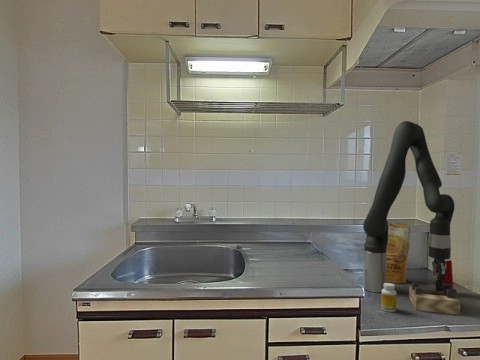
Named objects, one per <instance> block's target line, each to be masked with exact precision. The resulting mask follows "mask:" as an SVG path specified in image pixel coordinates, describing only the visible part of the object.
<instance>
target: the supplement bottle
mask: <svg viewBox="0 0 480 360" xmlns="http://www.w3.org/2000/svg"><path fill="white" fill-rule="evenodd" d="M383 287H384V289H382V292H380V293H381V300H380V301H381V303H380V308H381V309H382V311H384V312H389V313H394V312H396V311H397V296H398V295H397V294H398V293H397V291H396V289H395V288H396V285H395V283H390V282H386V283H384V286H383Z"/></svg>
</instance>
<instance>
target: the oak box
mask: <svg viewBox="0 0 480 360" xmlns="http://www.w3.org/2000/svg"><path fill="white" fill-rule="evenodd" d="M415 286H419V283H418V282H412V284H411V285H409V286H408V290H409V291H408V298H409V300H410V302H411V304H412V306H413V308H414V309H415V311H421V312H432V313H441V314H449V315H450V314H452V315H461V300H460V299H459V298H458V297H457V290H456V288H453V289H451V284H443V288H449V289H447V290H446V294H434V293H421V290H422V289H421V288H417V287H415ZM414 287H415V288H414Z"/></svg>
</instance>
